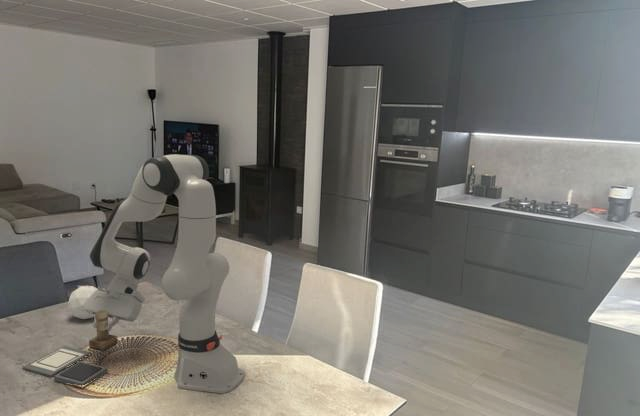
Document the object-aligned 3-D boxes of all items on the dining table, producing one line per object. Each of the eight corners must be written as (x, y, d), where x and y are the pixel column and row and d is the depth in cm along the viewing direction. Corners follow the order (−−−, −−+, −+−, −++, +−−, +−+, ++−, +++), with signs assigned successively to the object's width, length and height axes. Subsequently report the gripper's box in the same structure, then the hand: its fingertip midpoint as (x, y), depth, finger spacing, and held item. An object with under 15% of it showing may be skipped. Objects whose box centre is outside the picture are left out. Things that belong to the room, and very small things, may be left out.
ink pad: (107, 372, 150) (106, 367, 150) (82, 388, 141) (81, 382, 141) (80, 365, 154) (80, 360, 153) (54, 380, 144) (54, 375, 144)
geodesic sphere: (52, 305, 186) (67, 282, 181) (78, 294, 199) (93, 272, 194) (76, 331, 184) (92, 308, 180) (101, 318, 197) (117, 296, 193)
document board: (91, 354, 161) (91, 352, 161) (51, 377, 146) (50, 374, 146) (64, 347, 165) (64, 345, 165) (22, 369, 150) (22, 366, 150)
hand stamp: (117, 343, 159) (115, 308, 157) (103, 351, 153) (101, 315, 151) (103, 340, 161) (101, 306, 159) (89, 348, 155) (87, 312, 153)
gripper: (92, 283, 164) (70, 320, 156) (139, 291, 157) (120, 330, 150) (102, 291, 169) (82, 327, 161) (149, 299, 162) (130, 337, 155)
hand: (101, 328), depth 155 cm, fingers closed on hand stamp, 4 cm apart
